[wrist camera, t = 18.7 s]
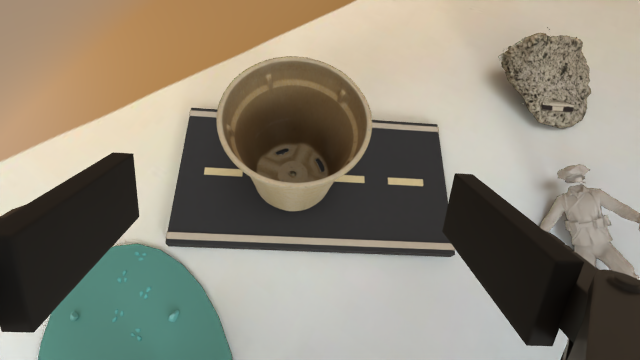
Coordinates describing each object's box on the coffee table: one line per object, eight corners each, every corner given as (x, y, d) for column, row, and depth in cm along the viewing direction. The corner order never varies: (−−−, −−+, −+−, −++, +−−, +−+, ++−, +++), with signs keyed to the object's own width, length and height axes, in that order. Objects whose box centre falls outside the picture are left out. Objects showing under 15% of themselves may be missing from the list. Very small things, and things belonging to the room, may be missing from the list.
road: (434, 129, 35) (437, 123, 34) (451, 256, 30) (455, 254, 29) (193, 112, 33) (190, 106, 32) (168, 246, 28) (164, 243, 27)
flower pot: (207, 176, 30) (181, 114, 22) (290, 107, 33) (293, 33, 25) (293, 257, 28) (298, 221, 20) (371, 175, 31) (402, 116, 23)
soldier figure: (554, 328, 29) (512, 180, 30) (557, 306, 33) (519, 176, 34) (688, 327, 25) (634, 153, 26) (672, 302, 29) (626, 152, 30)
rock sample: (558, 134, 31) (593, 21, 29) (476, 118, 37) (500, 24, 35) (605, 137, 37) (637, 44, 35) (528, 123, 43) (551, 43, 41)
